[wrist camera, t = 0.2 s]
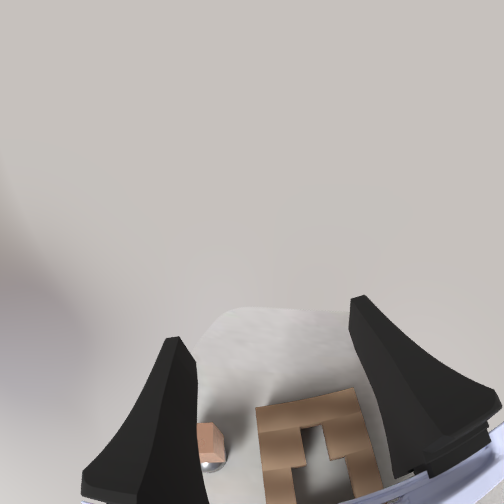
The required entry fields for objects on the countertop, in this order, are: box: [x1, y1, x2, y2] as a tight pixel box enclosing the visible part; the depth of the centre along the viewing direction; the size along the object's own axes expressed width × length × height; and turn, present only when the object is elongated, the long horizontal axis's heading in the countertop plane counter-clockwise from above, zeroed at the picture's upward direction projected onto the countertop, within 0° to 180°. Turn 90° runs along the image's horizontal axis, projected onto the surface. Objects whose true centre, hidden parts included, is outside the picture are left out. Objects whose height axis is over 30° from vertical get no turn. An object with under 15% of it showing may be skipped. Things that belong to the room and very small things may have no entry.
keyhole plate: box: [255, 388, 387, 504], centre depth 20 cm, size 14×10×4 cm
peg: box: [197, 422, 227, 473], centre depth 22 cm, size 4×5×7 cm
